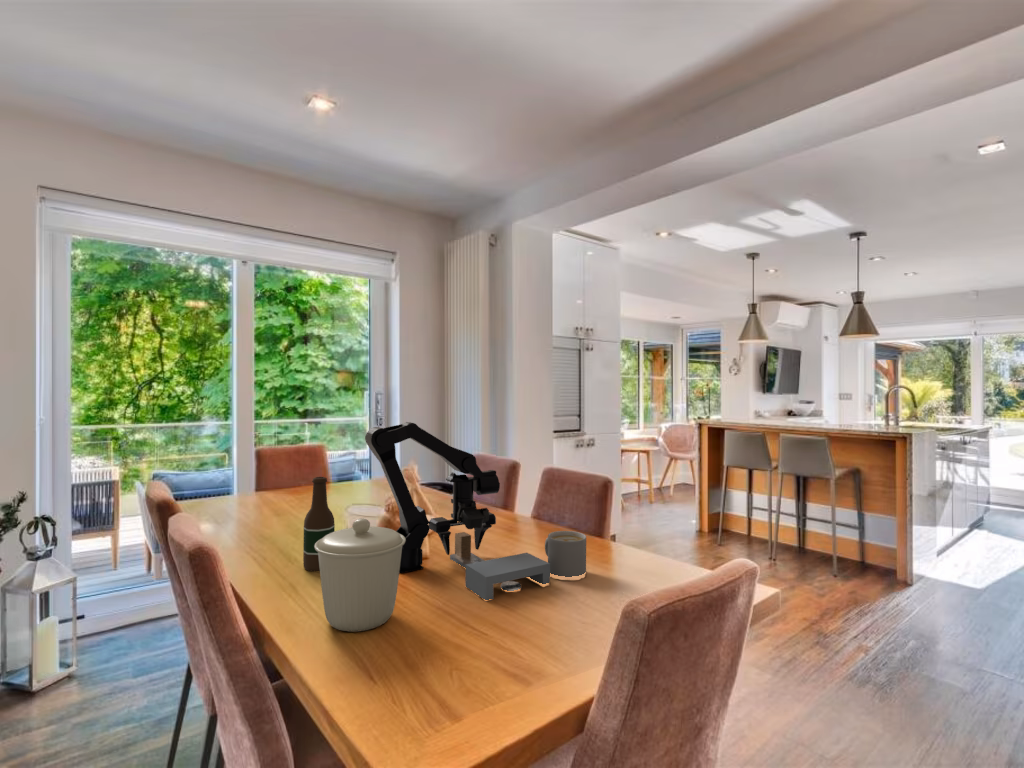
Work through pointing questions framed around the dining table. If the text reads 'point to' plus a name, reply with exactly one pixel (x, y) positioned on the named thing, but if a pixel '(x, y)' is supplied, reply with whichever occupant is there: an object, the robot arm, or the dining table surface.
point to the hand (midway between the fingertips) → (462, 551)
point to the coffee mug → (566, 553)
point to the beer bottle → (316, 524)
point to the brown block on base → (464, 550)
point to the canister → (359, 575)
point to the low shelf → (504, 572)
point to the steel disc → (510, 585)
